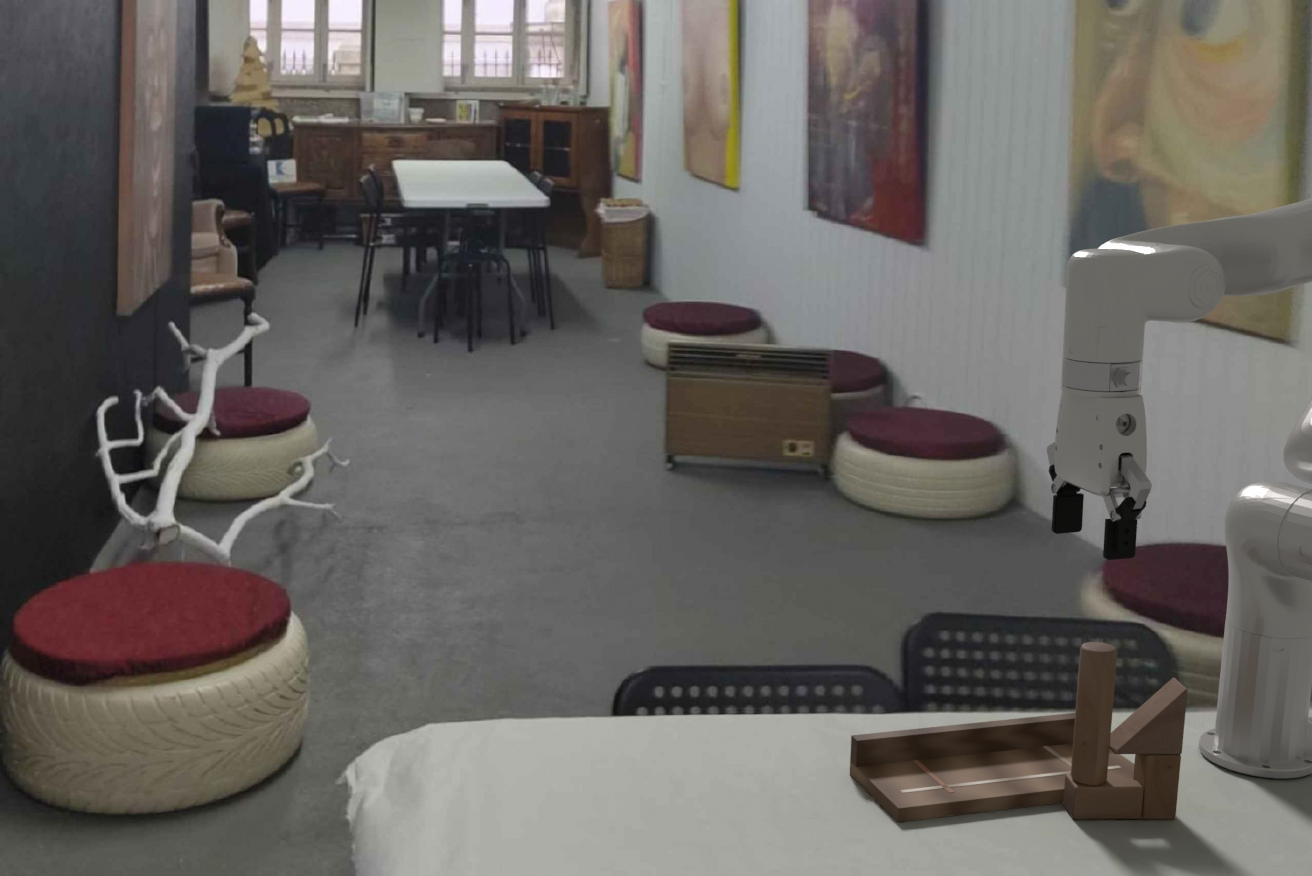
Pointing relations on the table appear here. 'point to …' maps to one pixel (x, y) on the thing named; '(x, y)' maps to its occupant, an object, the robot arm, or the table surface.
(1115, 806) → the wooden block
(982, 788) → the marking board
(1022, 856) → the table surface
